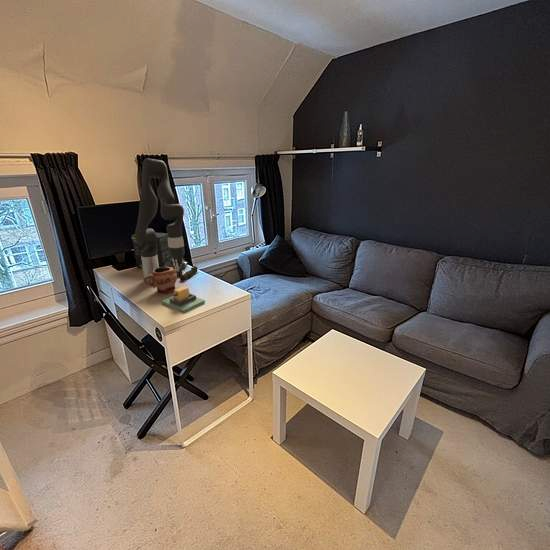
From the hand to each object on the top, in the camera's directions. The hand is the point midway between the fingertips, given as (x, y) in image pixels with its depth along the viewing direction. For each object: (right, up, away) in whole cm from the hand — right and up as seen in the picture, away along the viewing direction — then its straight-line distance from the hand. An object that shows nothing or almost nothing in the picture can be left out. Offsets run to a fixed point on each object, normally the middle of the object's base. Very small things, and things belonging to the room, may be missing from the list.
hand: (179, 277), depth 154 cm
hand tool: (-7, 0, +43) cm, 44 cm away
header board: (0, -14, +6) cm, 15 cm away
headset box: (-36, +7, +59) cm, 69 cm away
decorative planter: (-15, -9, +19) cm, 26 cm away
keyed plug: (0, -13, +5) cm, 13 cm away
